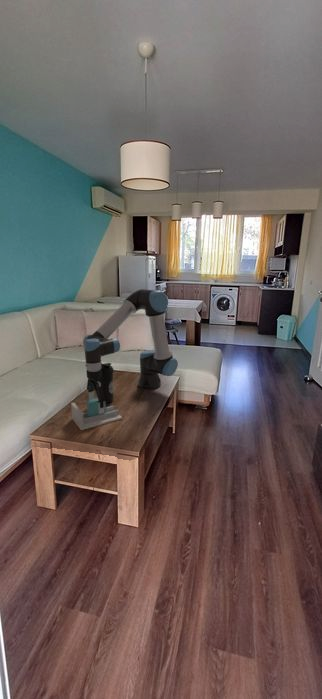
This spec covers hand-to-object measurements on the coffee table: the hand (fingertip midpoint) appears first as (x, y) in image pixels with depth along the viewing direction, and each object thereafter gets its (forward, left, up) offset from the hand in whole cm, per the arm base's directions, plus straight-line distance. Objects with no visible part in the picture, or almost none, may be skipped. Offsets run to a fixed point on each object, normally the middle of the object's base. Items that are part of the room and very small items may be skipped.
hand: (96, 408), depth 171 cm
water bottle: (-13, -19, -6) cm, 24 cm away
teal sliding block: (0, 0, -5) cm, 5 cm away
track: (0, 0, -6) cm, 6 cm away
